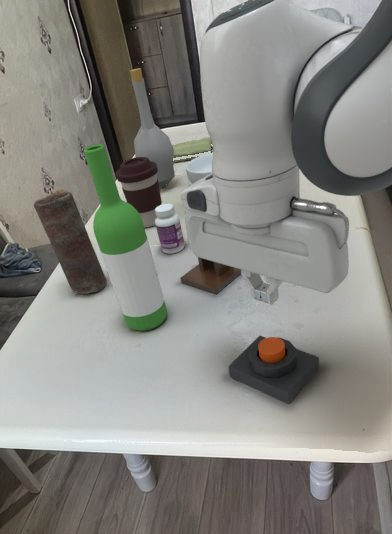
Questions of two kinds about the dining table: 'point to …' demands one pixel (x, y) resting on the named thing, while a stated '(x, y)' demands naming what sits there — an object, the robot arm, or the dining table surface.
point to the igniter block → (275, 371)
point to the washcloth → (191, 148)
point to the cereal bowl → (199, 167)
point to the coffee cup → (141, 187)
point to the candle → (70, 242)
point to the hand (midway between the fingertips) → (265, 299)
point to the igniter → (271, 350)
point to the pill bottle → (169, 229)
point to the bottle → (151, 135)
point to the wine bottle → (125, 248)
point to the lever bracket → (210, 276)
